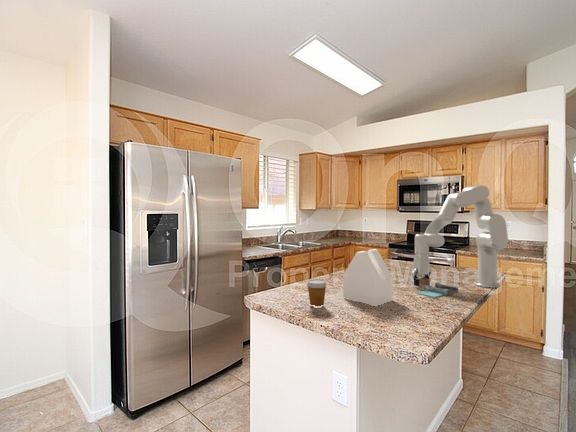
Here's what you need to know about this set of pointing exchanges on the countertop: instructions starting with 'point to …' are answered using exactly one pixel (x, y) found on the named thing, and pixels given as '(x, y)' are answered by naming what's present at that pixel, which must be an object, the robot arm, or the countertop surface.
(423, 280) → the wooden knob block
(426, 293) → the pad
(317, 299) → the disposable coffee cup
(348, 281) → the milk carton
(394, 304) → the countertop surface
